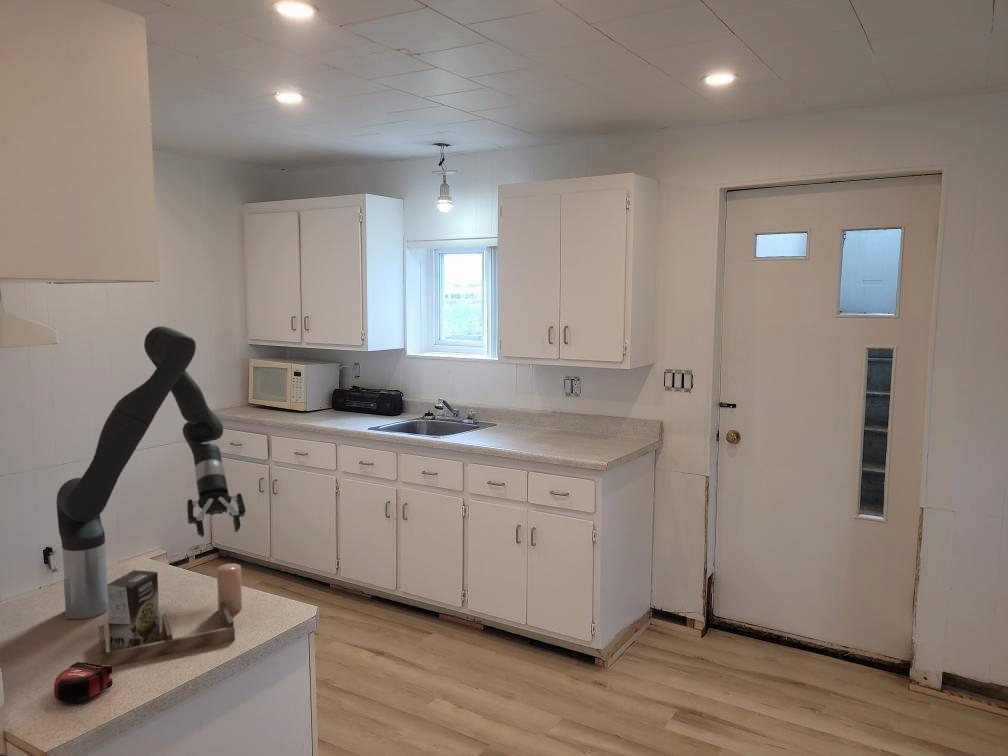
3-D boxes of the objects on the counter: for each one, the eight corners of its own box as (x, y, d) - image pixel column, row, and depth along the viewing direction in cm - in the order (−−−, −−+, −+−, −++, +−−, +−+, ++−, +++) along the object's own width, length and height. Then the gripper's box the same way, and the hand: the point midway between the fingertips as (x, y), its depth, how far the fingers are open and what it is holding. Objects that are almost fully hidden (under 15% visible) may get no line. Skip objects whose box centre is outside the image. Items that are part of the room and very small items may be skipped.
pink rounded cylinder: (220, 616, 183) (219, 573, 182) (216, 607, 188) (215, 565, 187) (244, 611, 186) (242, 569, 185) (239, 603, 191) (238, 562, 189)
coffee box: (134, 657, 163) (131, 587, 161) (108, 654, 164) (105, 584, 162) (161, 638, 172) (158, 571, 170) (136, 635, 173) (133, 568, 171)
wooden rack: (101, 668, 158) (101, 650, 157) (99, 642, 169) (98, 625, 169) (234, 640, 171) (234, 623, 171) (224, 617, 183) (224, 602, 182)
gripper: (184, 476, 198) (191, 530, 189) (239, 469, 205) (249, 522, 196) (182, 490, 203) (189, 544, 195) (236, 483, 210) (246, 535, 202)
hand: (220, 533), depth 196 cm, fingers open, 8 cm apart
